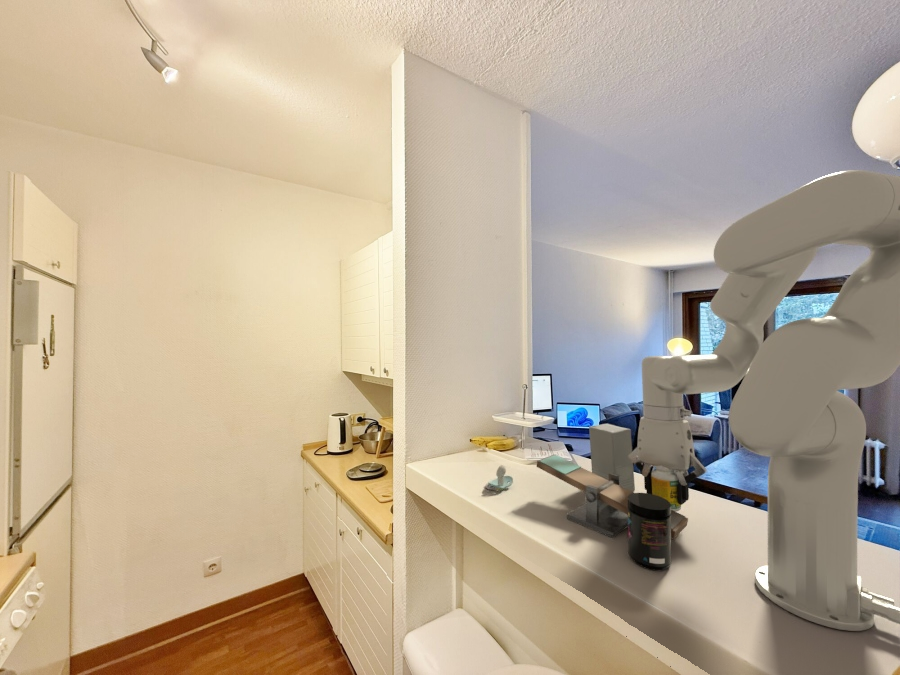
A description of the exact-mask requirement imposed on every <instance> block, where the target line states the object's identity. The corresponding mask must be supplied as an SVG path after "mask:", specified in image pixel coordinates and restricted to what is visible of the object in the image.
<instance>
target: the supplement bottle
mask: <svg viewBox="0 0 900 675" xmlns="http://www.w3.org/2000/svg"><path fill="white" fill-rule="evenodd" d="M651 480H652V494H653V495H657V496H660V497H662V498H664V499H666V500H668V501H669V502H670V504H671V510H673V511H675V512H679V511H680V510H681V509H682V505H681V504H679V503H678V500H677V485H678V484H679V479H678V477H677V474H676V471H675V470H673V469H669V468H666V467H663V466H662V465H660V466H654V469H653V471H652V473H651Z"/></svg>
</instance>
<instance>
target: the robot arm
mask: <svg viewBox="0 0 900 675" xmlns="http://www.w3.org/2000/svg"><path fill="white" fill-rule="evenodd" d="M832 244H834V245H835V244H836V245H846V246H859V247H861V246H862V247H865V248H868V249H869V251H870V253H869V255H868V256H867V258H866V259H865V260H864V262H862V263H861V264H860V265H859V266H858V267H857V268H856V269H855V270H854V271H853V272H852V273H851V274H850V276H849V277H848V278H847V279H846V280H845V282H844V283H843V285H842V287H841V289H840V291H839V292H838V295H836V296H837V297H836V298H835V299H834V301H833V303H832V305H830V307H829V309H828V310H827V312H826V313H825V314H824V315H823V316H822V317H812V318H811V317H810V318H809V317H808V318H801V319H797V320H793V321H790V322H787V323H785V324H782V325H781V326H779V327H778V328H776V329H775V330H774V331H773V332H771V333H770V334H769V335H768V336H767V337H766V338H765V340H764V337H765V336H764V334H765V333H764V325H765V324H766V322H767V321H768V320H769V319H770V317H771V316H772V315H773V313H774V312H775V310H776V309H777V308H778V307H779V305H780V304H781V303H782V301H783V300H784V298H785V297H786V296H787V295H788V293H789V292H790V291H791V290H792V288H793V287H794V286H795V284H796V283H797V281H799V279H800V278H801V277H802V275H803V274H804V272H805V271H806V270H807V269H808V267H809V266H810V264H811V263H812V262H813V261H814V259H815V257H816V255H817V253H818V250H819V248H821V247H824V246H828V245H832ZM713 259H714V262H715V265H716V266H717V268H719V269H720V270H722V272H724V273H727V276H726V278H725V279H724V281H723V282H722V284H721V286H720V287H719V289H718V290H717V292H716V293H715V294H714V296H713V297H712V299H711V301H710V305H709V307H710V310H711V311H712V313H713V314H714V315H715V316H716V317H717V318H719V319H720V320H722V321H723V322H724V323H725V331H724V334H723V336H722V339H721V340H720V342H719V343H718V345H717V346H716V347H715V348H714V350H713V351H712V353H711V354H688V355H674V356H673V355H651V356H650V355H649V356H646V357H644V358H642V362H641V380H642V382H641V383H642V409H643V410H642V411H643V416H641V417H640V418H639V419H640V420H639V426H638V432H637V443H636V444H637V446H636V447H635V448H634V449H633V450H632V452H631V453H630V454H629V456H628V458H629V459H630V460H631V461H632V462H633V465H635V467H636V468H637V469H638V471H640V472H641V475H642V477H643V482H644V483H643V484H644V490H646V493H648V494H652V480H651V473H652V471H653V470H654V469H655V467H654V466H660V465H662V466H663V467H666V468H669V469H673V470H675V472H676V474H677V477H678V479H679V484H678V485H677V500H678V503H679V504H681V506H682V505H683V504H685V503H686V502H687V501H689V498H690V493H689V492H690V491H689V484H690V483H692V482H693V481H694V480H695V479H697V478H699V477H701V476H703V475H705V473H707V472H708V471H707V468H706V467H705V466H704V465H703V464H702V463H701V462H700V460H699V459H698V458H697V457H696V455H695V448H694V441H693V440H694V439H693V433H692V431H691V426H690V423H689V421H688V420H686V419H685V418H691V417H692V410H691V409H690V410H688V409H686V408H685V405H684V395H694V394H695V395H697V394H707V393H708V394H710V393H719V392H720V393H721V392H725V391H728V390H730V389H732V388H734V387H735V386H736V385H738V384H739V383H740V382H741V384H740V385H739V387H738V389H737V391H736V393H735V395H734V397H733V399H732V400H731V404H730V408H729V412H728V424H729V429H730V431H731V434H732V436H733V437H734V439H735V440H736V442H738V443H739V444H740V445H741V447H744V449H746V450H747V451H750V452H751V453H752V454H756V455H758V456H762V457H767V458H769V463H768V467H767V468H768V469H767V565H763V566H760V567H758V568H757V569H756V570H755V572H754V582H755V584H756V586H757V588H758V590H759V591H760V592H761V593H762V594H763V595H764V596H765V597H766V598H768V599H769V600H770V601H772V603H774V604H776V605H777V606H779V607H781V608H782V609H784V610H785V611H787V612H789V613H791V614H793V615H795V616H798V617H800V618H801V619H803V620H805V621H806V620H807V621H809V622H812V623H814V624H816V625H817V624H818V625H821V626H824V627H827V628H831V629H834V630H835V629H837V630H841V631H849V632H862V631H866V630H869V629H870V628H872V627H873V626H874V623H875V615H876V616H879V617H880V618H884V619H886V620H888V621H890V622H892V623H895V624H898V625H900V607H898V606H895V599H894V598H891V597H888V596H884V595H882V594H878V593H874V592H872V591H869V590H868V588H866V587H863V586H862V577H861V575H858V503H859V499H858V498H859V492H858V491H859V473H860V465H861V461H862V455H863V451H864V447H865V442H866V436H867V422H866V418H865V415H864V413H863V411H862V409H861V408H860V406H859V405H858V404H857V403H856V402H855V401H854V400H853V399H852V398H851V397H849V396H848V395H846V394H845V393H843V392H841V391H842V390H855V389H863V388H869V387H873V386H877V385H878V384H881V383H884V382H885V381H887V379H889V378H890V377H892V376H893V374H894V373H895V372H896V371H897V369H898V368H899V366H900V175H892V174H888V173H882V172H877V171H870V170H861V169H859V170H858V169H854V170H842V171H839V172H834V173H831V174H828V175H825V176H822V177H819V178H817V179H814V180H813V181H810V182H809V183H806V184H805V185H802V186H800V187H799V188H796V189H794V190H793V191H791V192H789V193H787V194H785V195H783V196H781V197H778V198H777V199H775V200H774V201H772V202H769V203H768V204H765V205H764V206H762V207H759V208H758V209H756V210H754V211H752V212H750V213H748V214H746V215H744V216H743V217H741V218H739V219H738V220H736V221H735V222H734V223H732V224H731V225H730V226H728V227H727V228H725V230H724V231H723V232H722V233H721V234H720V236H719V237H718V239H717V240H716V243H715V246H714V248H713ZM741 380H742V381H741ZM689 468H694V470H693V471H691V472H690V473H689V472H688V470H689Z"/></svg>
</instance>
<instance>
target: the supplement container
mask: <svg viewBox="0 0 900 675" xmlns="http://www.w3.org/2000/svg"><path fill="white" fill-rule="evenodd" d="M627 507H628V527H627V553H628V556H629V558H630V560H632V562H634V563H635V564H636V565H638V566H640V567H641V568H644V569H647V570H651V571H664V570H666V569H669V568H670V566H671V565H672V538H671V504H670V502H669V501H668V500H666V499H664V498H662V497H660V496H657V495H653V494H648V493H647V492H634V493H632V494H630V495H628V505H627Z"/></svg>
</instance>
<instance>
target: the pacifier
mask: <svg viewBox="0 0 900 675" xmlns="http://www.w3.org/2000/svg"><path fill="white" fill-rule="evenodd" d="M495 473H496V474H495V475H496V477H497V478H495V479H493V480H490V481H488V482H487V483H486V484H485V486H484V488H486V489H487V490H489V491H490V490H491V491H493V490H494V491H496V490H498V491H500V490H501V491H503V490H506V488H509V487H511V486H512V484H513V483H514V478H513V477H512V475H511V476H510V475H506V473H507V468H506V466H505V465H504V464H501V465H500V466H498V468H497V469H496V472H495ZM489 485H490V486H489Z"/></svg>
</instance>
